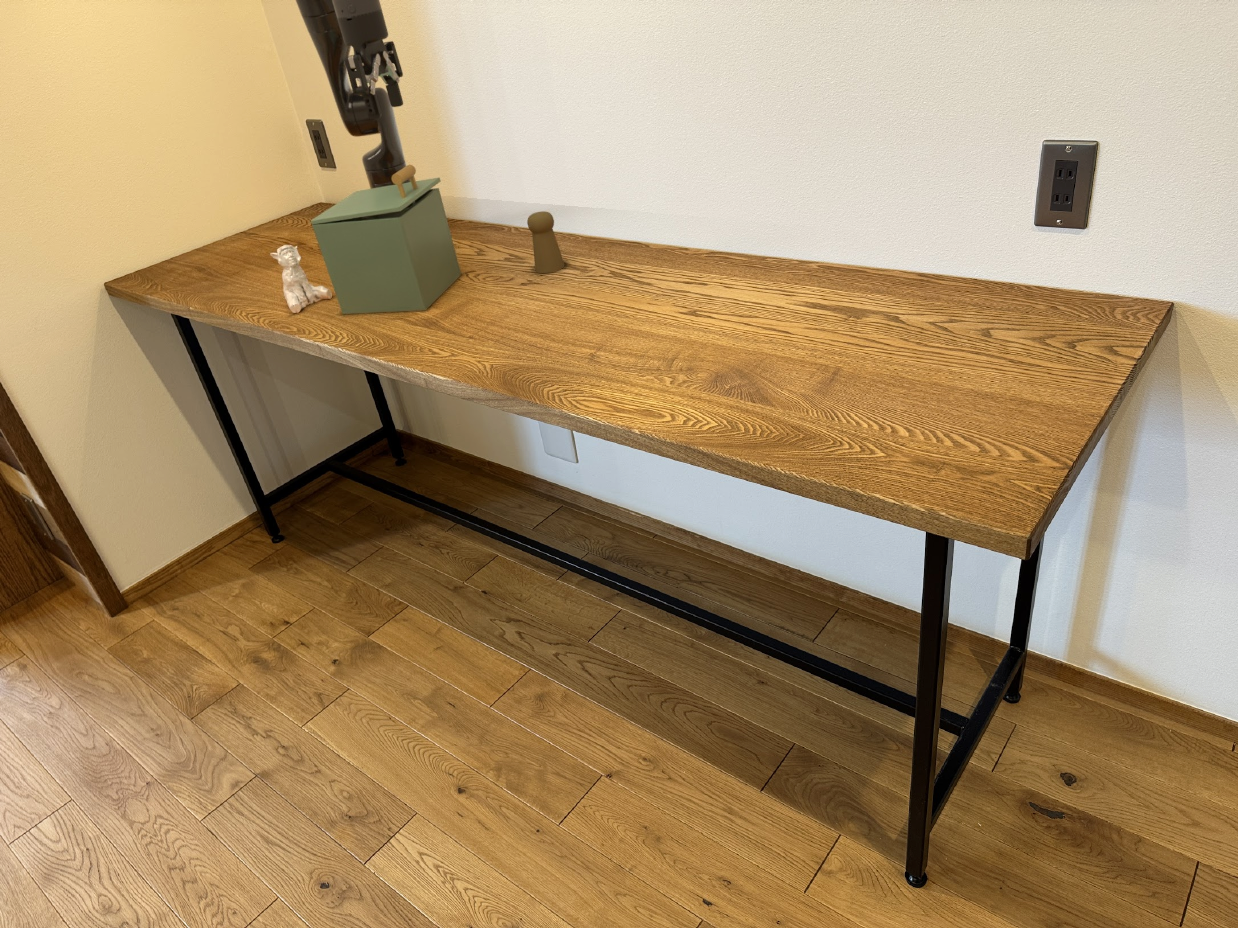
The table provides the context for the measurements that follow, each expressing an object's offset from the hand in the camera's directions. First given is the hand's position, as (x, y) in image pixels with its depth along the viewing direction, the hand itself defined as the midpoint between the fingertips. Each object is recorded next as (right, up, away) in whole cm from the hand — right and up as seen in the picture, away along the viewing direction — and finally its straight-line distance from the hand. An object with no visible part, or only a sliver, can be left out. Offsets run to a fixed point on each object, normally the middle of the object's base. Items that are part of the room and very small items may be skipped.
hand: (386, 112), depth 158 cm
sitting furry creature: (-23, -29, +25) cm, 45 cm away
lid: (-4, -13, +10) cm, 17 cm away
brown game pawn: (+27, -23, +20) cm, 41 cm away
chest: (-2, -28, +20) cm, 35 cm away
